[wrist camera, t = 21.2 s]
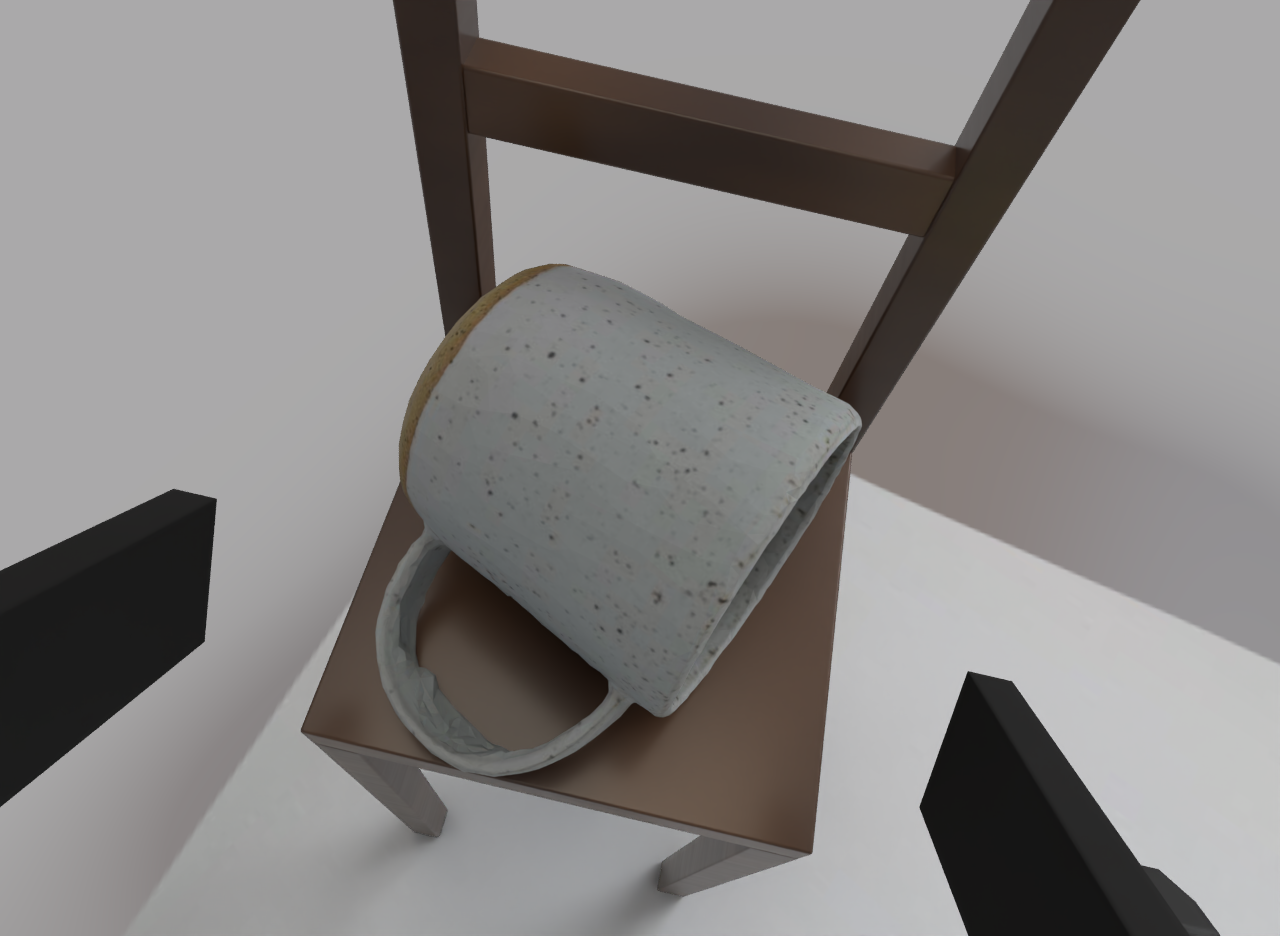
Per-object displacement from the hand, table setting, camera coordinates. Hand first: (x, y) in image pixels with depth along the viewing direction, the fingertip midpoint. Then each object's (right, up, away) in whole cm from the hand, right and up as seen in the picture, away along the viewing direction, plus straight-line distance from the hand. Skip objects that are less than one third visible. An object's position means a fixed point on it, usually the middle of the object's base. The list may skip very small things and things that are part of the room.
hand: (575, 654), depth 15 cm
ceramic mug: (0, 0, +7) cm, 7 cm away
